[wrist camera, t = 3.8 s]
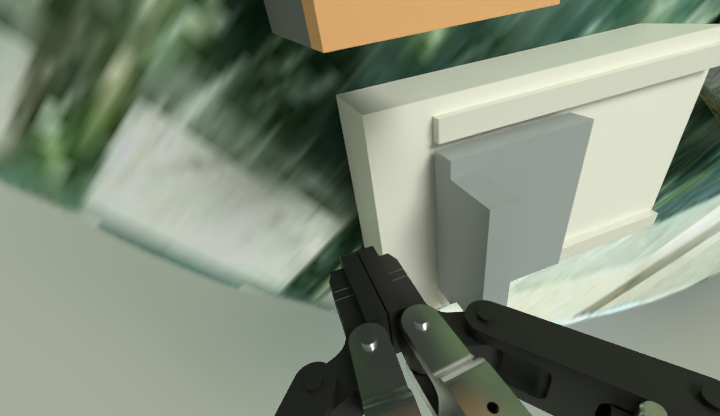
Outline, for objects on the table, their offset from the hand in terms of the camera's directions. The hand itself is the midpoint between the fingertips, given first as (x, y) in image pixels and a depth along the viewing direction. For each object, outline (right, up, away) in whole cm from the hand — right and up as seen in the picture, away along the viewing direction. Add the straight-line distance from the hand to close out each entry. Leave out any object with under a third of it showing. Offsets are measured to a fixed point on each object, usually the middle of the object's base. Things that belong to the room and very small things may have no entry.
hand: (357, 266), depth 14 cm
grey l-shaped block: (+7, +2, +2) cm, 8 cm away
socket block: (+8, +5, +6) cm, 12 cm away
